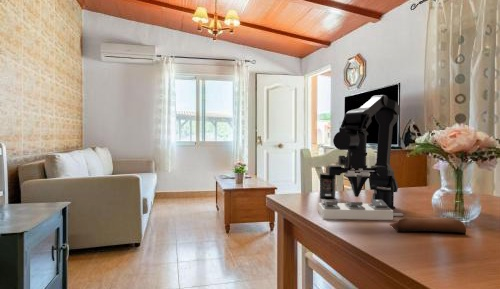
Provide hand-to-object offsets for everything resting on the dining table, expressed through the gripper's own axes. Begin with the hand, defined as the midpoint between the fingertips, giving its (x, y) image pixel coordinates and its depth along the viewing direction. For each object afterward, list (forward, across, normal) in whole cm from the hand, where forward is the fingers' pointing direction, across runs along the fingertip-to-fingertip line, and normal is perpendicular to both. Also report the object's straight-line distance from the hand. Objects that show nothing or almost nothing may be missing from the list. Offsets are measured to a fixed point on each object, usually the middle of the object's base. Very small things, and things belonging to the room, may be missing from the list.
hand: (356, 196), depth 101 cm
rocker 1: (+3, +8, -2) cm, 9 cm away
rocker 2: (+3, -8, -2) cm, 9 cm away
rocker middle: (+3, 0, -2) cm, 3 cm away
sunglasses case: (+8, -16, +12) cm, 21 cm away
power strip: (+7, -2, -3) cm, 8 cm away
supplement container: (+7, +3, -33) cm, 34 cm away
